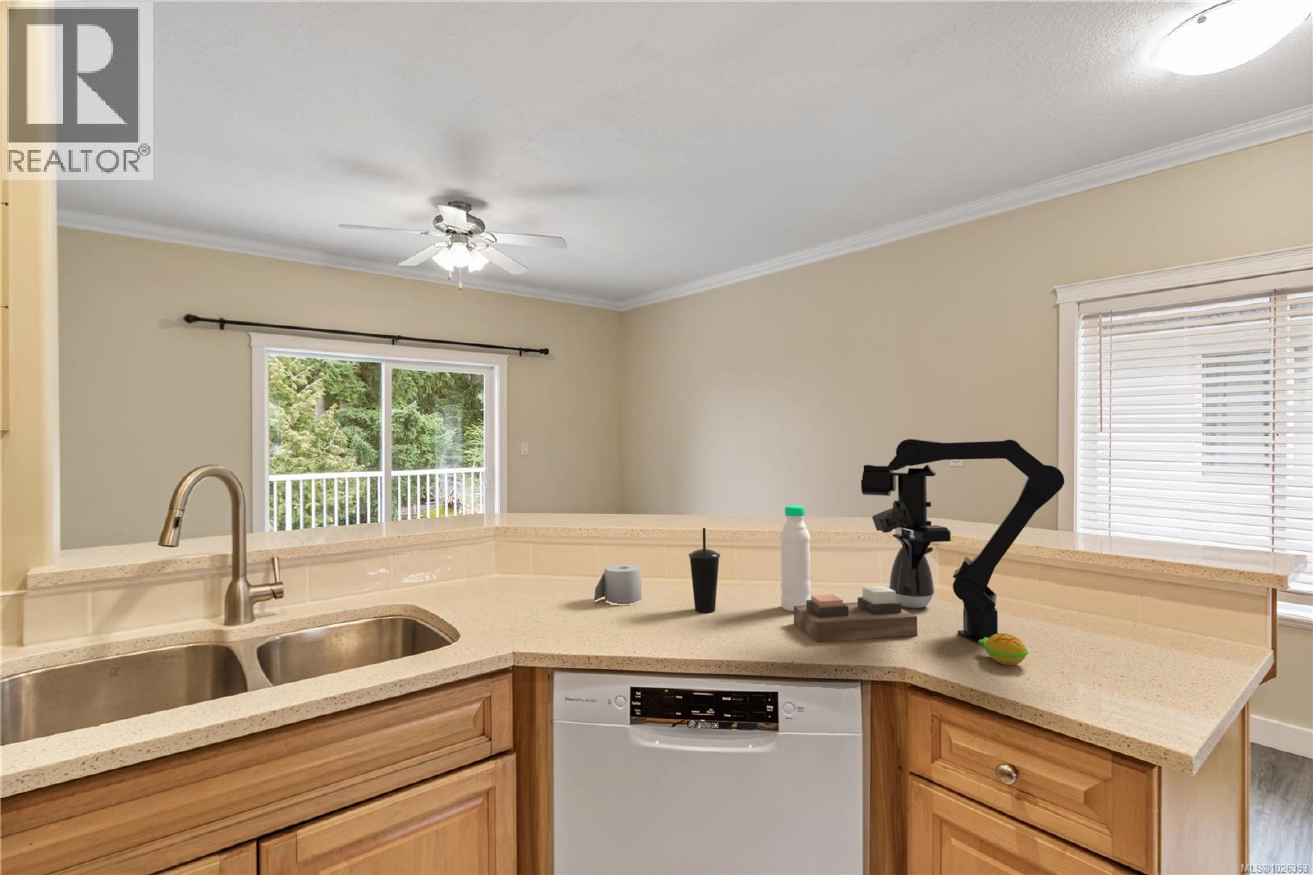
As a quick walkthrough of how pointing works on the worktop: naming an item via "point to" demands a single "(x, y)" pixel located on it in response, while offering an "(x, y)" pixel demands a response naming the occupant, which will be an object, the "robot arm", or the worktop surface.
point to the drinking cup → (704, 577)
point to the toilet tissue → (620, 584)
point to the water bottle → (795, 559)
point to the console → (854, 621)
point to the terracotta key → (826, 600)
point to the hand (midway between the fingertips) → (913, 568)
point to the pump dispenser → (912, 581)
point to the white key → (879, 595)
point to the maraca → (1005, 648)
